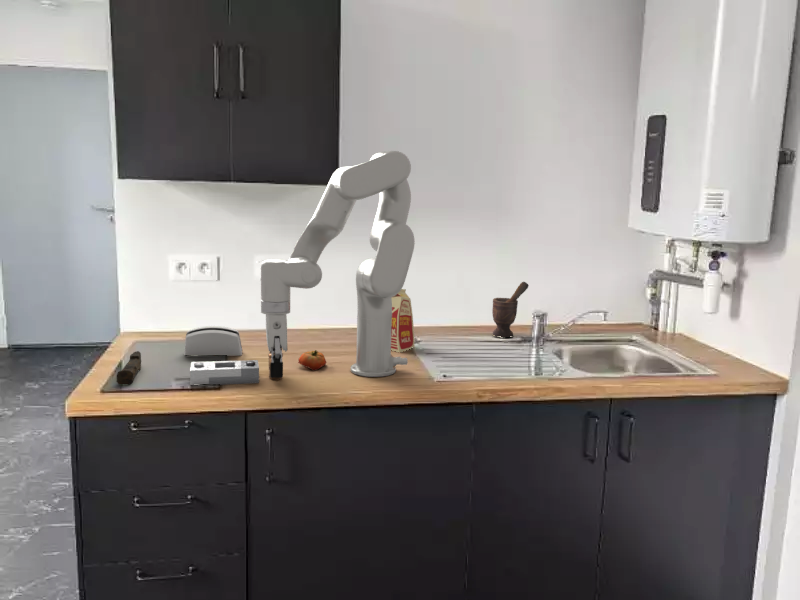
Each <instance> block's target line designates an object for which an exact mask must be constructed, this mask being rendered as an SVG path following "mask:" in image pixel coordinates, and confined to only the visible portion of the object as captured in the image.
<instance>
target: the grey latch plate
mask: <svg viewBox="0 0 800 600" xmlns="http://www.w3.org/2000/svg"><path fill="white" fill-rule="evenodd" d="M189 376H190V377H189V378H190V379H189V380H190V381H189V383H190V384H189V385H194V384H220V385H219V386H221V385H222V386H223V385H241V384H245V385H247V384H259V383H260V366H259V360H258V359H251V360H249V359H248V360H247V359H246V360H221V361H220V360H219V361H217V360H216V361H191V363H190V368H189Z"/></svg>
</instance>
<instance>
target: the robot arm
mask: <svg viewBox="0 0 800 600" xmlns="http://www.w3.org/2000/svg"><path fill="white" fill-rule="evenodd" d="M411 171H412V164H411V161H410V158H408V156H407V155H406V154H405V153H403V152H401V151H398V150H390V151H389V150H388V151H379V152H376V153H375V154H373V155H372V156H371V157H370V158H369V160H367V161H365V162H362V163H358V164H356V165H353V166H342V167H339V168H337V169H336V170H335V171H333V173H332V175H331V177H330V179H329V181H328V183H327V185H326V188H325V190H324V193H323V194H322V196H321V199H320V200H319V202H318V204H317V207H316V209H315V211H314V213H313V215H312V217H311V219H310V220H309V222H308V223H307V225H306V227H305V228H304V230H303V232H301V235H300V236H299V237H298V239H297V241H296V243H295V245H294V248H293V250H292V252H291V253H290V256H289V258H288V260H287V259H283V258H269V259H264V260H263V261H261V265H260V313H261V314H263V315H265V333H266V335H265V337H266V338H265V339H266V345H267V348H268V352H269V353H271V362H270V377H271V378H278V377H282V378H283V376H284V362H283V357H282V353H283V351H284V352H287V351H288V319H287V316H288V314H290V313H291V288H296V289H303V290H304V289H313V288H315V287H316V286H318V285H319V284H320V283H321V281H322V278H323V271H322V268H321V266H320V265H319V264H318V261H319V259H320V257H321V255H322V253H323V252H324V249H325V248H326V247H327V245H328V244H329V243H330V242H332V240H334V239H335V238H337V237H338V236H339V235H340V233H342V231H343V230H344V227H345V225H346V224H347V221H348V219H349V217H350V214H351V213H352V212H353V211H352V210H354V209H353V208H354V207H355V205H356V202H357V201H359V200H364V199H366V198H369V197H372V196H374V195H377V194H379V196H378V197H379V198H378V205H377V210H376V213H375V217H374V220H373V224H372V228H371V231H370V233H369V244H370V246H371V247H372V249H373V250H374V251H375V252H376V254H375V257H370V258H366V259H365V260H363V261H362V262H361V263H360V264H359V266H358V268H357V270H356V274H355V285H356V286H355V287H356V288H355V289H356V295H357V296H356V298H357V299H356V300H357V309H356V310H357V316H356V317H357V318H356V358H355V359H356V360H355V361H356V362H355V363H353V364H352V365H351V366H350V372H351V373H352V374H354V375H357V376H361V377H368V378H369V377H370V378H371V377H373V378H374V377H375V378H377V377H379V378H380V377H388V376H392V375H393V374H395V373H396V371H397V365H401V366H405V365H408V362H409V361H408V358H407V357H401V356H393V355H392V351H391V328H392V298H391V297H394V296H395V295H397V294H398V293H399V292H400V290H401V289H403V287H404V285H405V282H406V279H407V276H408V275H407V274H408V272H409V268H410V265H411V262H412V258H413V254H414V249H415V244H416V243H415V235H414V232H413V230H412V229H411V227H410V226H409V225H408V224H407V223H408V222H407V221H408V217H409V212H410V208H411V201H412V194H411V193H412V192H411V187H410V185H409V181H408V178H409V176H410V174H411ZM273 353H275V354H274V356H273Z"/></svg>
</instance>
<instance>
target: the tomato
mask: <svg viewBox="0 0 800 600" xmlns="http://www.w3.org/2000/svg"><path fill="white" fill-rule="evenodd" d="M327 363H328V362H327V361H326V357H325V355H324V354H323V353H322V352H320V351H318V350H316V349H314V350H311V351H305V352H303V353H302V354H301V355H300V357H299V358H298V362H297V364H300V365H301V366H303V367H305V368H309V369H310V370H312V371H317V370H319V369H321V368H322V367H324V366H326V364H327Z"/></svg>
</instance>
